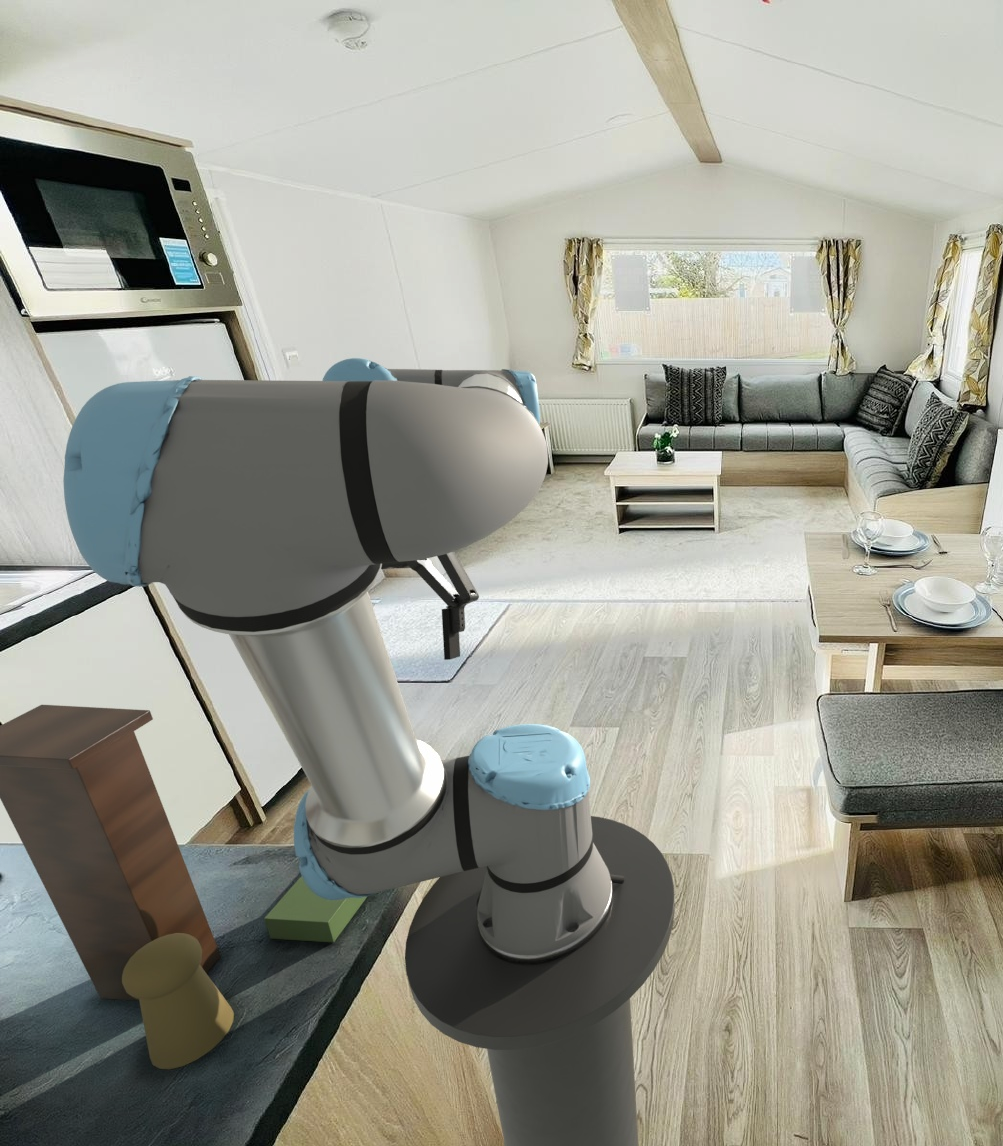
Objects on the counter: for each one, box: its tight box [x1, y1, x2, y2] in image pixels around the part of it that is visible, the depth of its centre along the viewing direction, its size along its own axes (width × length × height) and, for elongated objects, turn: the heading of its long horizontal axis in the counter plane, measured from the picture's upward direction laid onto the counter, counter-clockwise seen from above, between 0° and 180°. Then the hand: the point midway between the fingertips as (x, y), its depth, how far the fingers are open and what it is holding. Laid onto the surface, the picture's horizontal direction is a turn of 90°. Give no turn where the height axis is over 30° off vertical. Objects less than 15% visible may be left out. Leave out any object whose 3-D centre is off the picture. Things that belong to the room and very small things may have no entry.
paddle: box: [263, 875, 368, 943], centre depth 76 cm, size 7×15×3 cm, turn 178°
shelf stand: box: [0, 704, 222, 1002], centre depth 60 cm, size 10×7×30 cm
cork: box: [122, 933, 235, 1070], centre depth 58 cm, size 6×6×11 cm
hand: (400, 660), depth 83 cm, fingers open, 13 cm apart
